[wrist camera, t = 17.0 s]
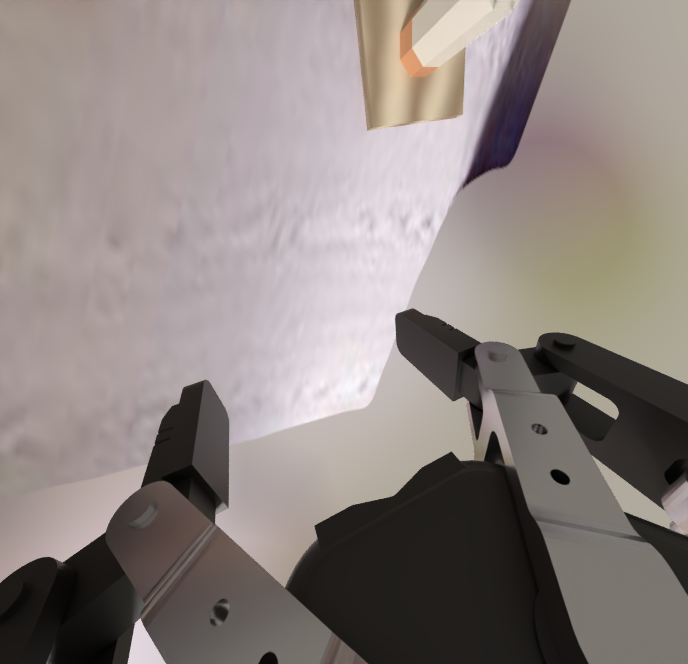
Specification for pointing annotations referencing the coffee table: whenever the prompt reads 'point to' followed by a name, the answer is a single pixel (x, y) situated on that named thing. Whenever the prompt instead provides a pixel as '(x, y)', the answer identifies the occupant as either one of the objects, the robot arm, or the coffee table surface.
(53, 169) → the coffee table surface
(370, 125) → the pin board
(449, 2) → the sleeve
